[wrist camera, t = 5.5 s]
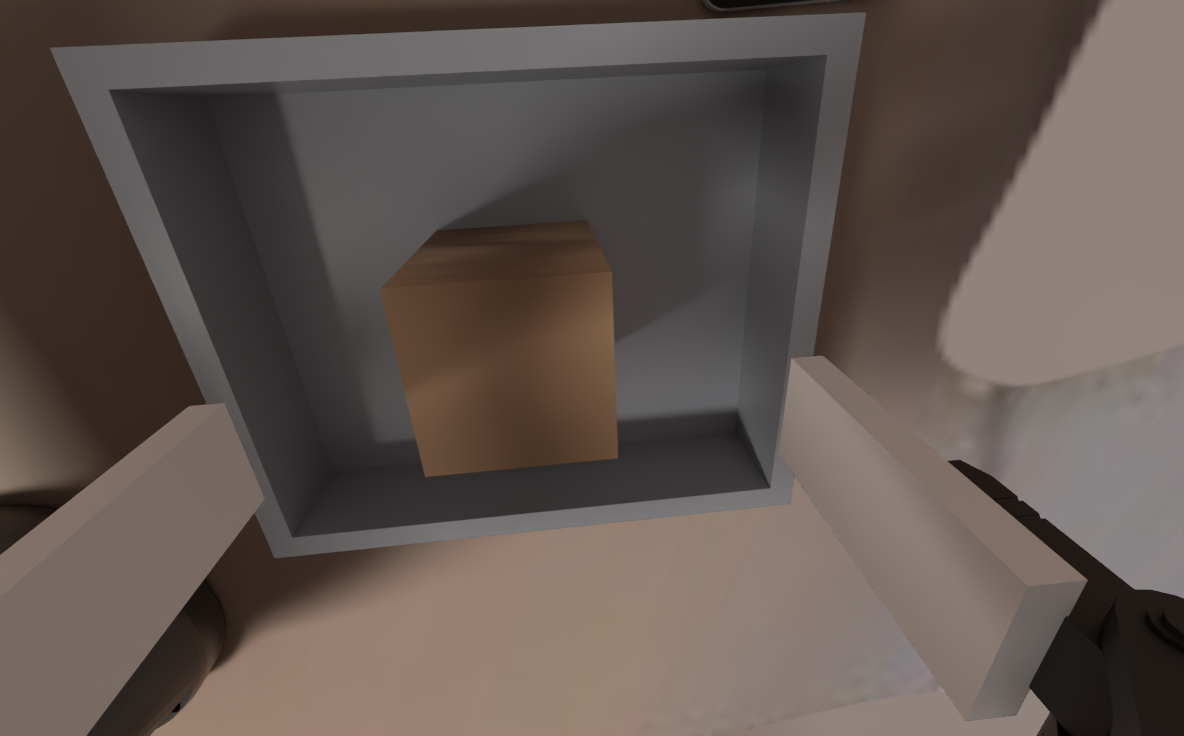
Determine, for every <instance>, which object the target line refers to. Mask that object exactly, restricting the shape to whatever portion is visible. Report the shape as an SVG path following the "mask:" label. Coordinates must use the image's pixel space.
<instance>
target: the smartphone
mask: <svg viewBox="0 0 1184 736" xmlns="http://www.w3.org/2000/svg"><path fill="white" fill-rule="evenodd" d="M834 1H844V0H702V2H703V4H704V5H705V6H706V7H707V8H708V9H709V10H711V11H713V12H717V13H723V12H733V11H743V10H753V9H763V8H773V7H783V6H794V5H804V4H814V3H824V2H834Z"/></svg>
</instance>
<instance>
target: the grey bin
mask: <svg viewBox="0 0 1184 736" xmlns="http://www.w3.org/2000/svg"><path fill="white" fill-rule="evenodd" d="M865 18H866V12H861V13H838V14H815V15H792V16H769V17H746V18H723V19H700V20H677V21H654V22H630V23H607V24H584V25H561V26H538V27H515V28H492V29H469V30H446V31H423V32H400V33H377V34H354V35H331V36H308V37H284V38H261V39H238V40H215V41H192V42H169V43H146V44H123V45H100V46H77V47H54V48H50V50H51V52H52V54H53V57H54V59H55V61H56V64H57V66H58V68H59V70H60V73H61V75H62V77H63V79H64V82H65V84H66V86H67V88H68V91H69V93H70V95H71V98H72V100H73V102H74V104H75V107H76V109H77V111H78V113H79V116H80V118H81V120H82V123H83V125H84V127H85V129H86V132H87V134H88V136H89V138H90V141H91V143H92V145H93V148H94V150H95V152H96V154H97V157H98V159H99V161H100V163H101V166H102V168H103V170H104V172H105V175H106V177H107V179H108V182H109V184H110V186H111V188H112V191H113V193H114V195H115V197H116V200H117V202H118V204H119V207H120V209H121V211H122V213H123V216H124V218H125V220H126V222H127V225H128V227H129V229H130V232H131V234H132V236H133V238H134V241H135V243H136V245H137V247H138V250H139V252H140V254H141V256H142V259H143V261H144V263H145V266H146V268H147V270H148V272H149V275H150V277H151V279H152V281H153V284H154V286H155V288H156V291H157V293H158V295H159V297H160V300H161V302H162V304H163V306H164V309H165V311H166V313H167V316H168V318H169V320H170V322H171V325H172V327H173V329H174V331H175V334H176V336H177V338H178V340H179V343H180V345H181V347H182V350H183V352H184V354H185V356H186V359H187V361H188V363H189V365H190V368H191V370H192V372H193V375H194V377H195V379H196V381H197V384H198V386H199V388H200V390H201V393H202V395H203V397H204V400H205V402H206V404H220V403H225V406H226V408H227V410H228V413H229V415H230V418H231V420H232V422H233V425H234V427H235V429H236V432H237V434H238V436H239V439H240V441H241V444H242V446H243V448H244V451H245V453H246V455H247V458H248V460H249V462H250V465H251V467H252V469H253V472H254V474H255V477H256V479H257V481H258V484H259V486H260V488H261V491H262V493H263V495H264V498H265V499H264V501H263V502H262V503H261V505H260V506H259V507H258V509H257V510H256V511H255V515H256V518H257V520H258V522H259V524H260V527H261V529H262V531H263V533H264V536H265V538H266V540H267V543H268V545H269V547H270V549H271V552H272V554H273V556H274V558H284V557H294V556H303V555H313V554H322V553H332V552H341V551H351V550H360V549H370V548H379V547H389V546H398V545H407V544H417V543H426V542H436V541H445V540H455V539H464V538H474V537H483V536H493V535H502V534H512V533H521V532H531V531H540V530H549V529H559V528H568V527H578V526H587V525H597V524H606V523H616V522H625V521H635V520H644V519H654V518H663V517H673V516H682V515H691V514H701V513H710V512H720V511H729V510H739V509H748V508H758V507H767V506H777V505H786V504H790V502H791V496H792V490H793V483H794V477H795V476H794V475H793V473H792V472H791V470H790V469H789V468H788V466H787V465H786V463H785V462H784V460H783V459H782V458H781V456H780V455H779V446H780V439H781V431H782V424H783V417H784V409H785V402H786V394H787V387H788V380H789V372H790V365H791V358H798V357H811V356H813V354H814V348H815V341H816V335H817V328H818V322H819V315H820V309H821V302H822V296H823V289H824V283H825V277H826V270H827V264H828V257H829V251H830V244H831V238H832V231H833V225H834V218H835V212H836V206H837V199H838V193H839V186H840V180H841V173H842V167H843V160H844V154H845V147H846V141H847V135H848V128H849V122H850V115H851V109H852V102H853V96H854V89H855V83H856V76H857V70H858V64H859V57H860V51H861V44H862V38H863V31H864V25H865ZM583 220H587V222H588V224H589V226H590V228H591V230H592V232H593V234H594V236H595V238H596V240H597V243H598V245H599V247H600V249H601V251H602V253H603V255H604V257H605V259H606V261H607V263H608V265H609V267H610V269H611V271H612V289H613V319H614V349H615V379H616V409H617V439H618V458H615V459H605V460H595V461H584V462H574V463H564V464H554V465H543V466H533V467H523V468H513V469H503V470H492V471H482V472H472V473H462V474H451V475H441V476H431V477H425V474H424V470H423V466H422V462H421V458H420V453H419V449H418V445H417V441H416V437H415V433H414V428H413V424H412V420H411V416H410V412H409V408H408V404H407V399H406V395H405V391H404V387H403V383H402V379H401V374H400V370H399V366H398V362H397V358H396V354H395V350H394V345H393V341H392V337H391V333H390V329H389V325H388V320H387V316H386V312H385V308H384V304H383V300H382V296H381V291H380V288H381V287H382V286H383V285H384V284H385V283H386V282H387V281H388V280H389V279H390V278H391V277H392V276H393V275H394V274H395V273H396V272H397V271H398V270H399V269H400V268H401V267H402V266H403V265H404V264H405V262H406V261H407V260H408V259H409V258H410V257H411V256H412V255H413V254H414V253H415V252H416V251H417V250H418V249H419V248H420V247H421V246H422V245H423V244H424V243H425V242H426V241H427V240H428V239H429V238H430V237H431V236H432V235H433V234H434V233H435V232H436V230H450V229H465V228H480V227H495V226H509V225H524V224H539V223H554V222H569V221H583Z"/></svg>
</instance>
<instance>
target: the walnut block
mask: <svg viewBox="0 0 1184 736" xmlns="http://www.w3.org/2000/svg"><path fill="white" fill-rule="evenodd" d="M380 291H381V296H382V300H383V304H384V308H385V312H386V316H387V320H388V325H389V329H390V333H391V337H392V341H393V345H394V350H395V354H396V358H397V362H398V366H399V370H400V374H401V379H402V383H403V387H404V391H405V395H406V399H407V404H408V408H409V412H410V416H411V420H412V424H413V428H414V433H415V437H416V441H417V445H418V449H419V453H420V458H421V462H422V466H423V470H424V474H425V477H431V476H441V475H451V474H462V473H472V472H482V471H492V470H503V469H513V468H523V467H533V466H543V465H554V464H564V463H574V462H584V461H595V460H605V459H615V458H618V439H617V409H616V379H615V349H614V319H613V289H612V271H611V269H610V267H609V265H608V263H607V261H606V259H605V257H604V255H603V253H602V251H601V249H600V247H599V245H598V243H597V240H596V238H595V236H594V234H593V232H592V230H591V228H590V226H589V224H588V222H587V220H583V221H569V222H554V223H539V224H524V225H509V226H495V227H480V228H465V229H450V230H436V232H435V233H434V234H433V235H432V236H431V237H430V238H429V239H428V240H427V241H426V242H425V243H424V244H423V245H422V246H421V247H420V248H419V249H418V250H417V251H416V252H415V253H414V254H413V255H412V256H411V257H410V258H409V259H408V260H407V261H406V262H405V264H404V265H403V266H402V267H401V268H400V269H399V270H398V271H397V272H396V273H395V274H394V275H393V276H392V277H391V278H390V279H389V280H388V281H387V282H386V283H385V284H384V285H383V286H382V287H381V288H380Z"/></svg>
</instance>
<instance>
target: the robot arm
mask: <svg viewBox="0 0 1184 736" xmlns="http://www.w3.org/2000/svg"><path fill="white" fill-rule="evenodd" d="M779 455H780V456H781V458H782V459H783V460H784V462H785V463H786V465H787V466H788V468H789V469H790V470H791V472H792V473H793V475H794V476H795V478H796V479H797V480H798V482H799V483H800V485H801V486H802V488H803V489H804V490H805V492H806V493H807V495H808V496H809V498H810V499H811V501H812V502H813V503H814V505H815V506H816V508H817V509H818V511H819V512H820V513H821V515H822V516H823V518H824V519H825V521H826V522H827V523H828V525H829V526H830V528H831V529H832V531H833V532H834V533H835V535H836V536H837V538H838V539H839V541H840V542H841V544H842V545H843V546H844V548H845V549H846V551H847V552H848V554H849V555H850V556H851V558H852V559H853V561H854V562H855V564H856V565H857V566H858V568H859V569H860V571H861V572H862V574H863V575H864V577H865V578H866V579H867V581H868V582H869V584H870V585H871V587H872V588H873V589H874V591H875V592H876V594H877V595H878V597H879V598H880V599H881V601H882V602H883V604H884V605H885V607H886V608H887V609H888V611H889V612H890V614H891V615H892V617H893V618H894V620H895V621H896V622H897V624H898V625H899V627H900V628H901V630H902V631H903V632H904V634H905V635H906V637H907V638H908V640H909V641H910V642H911V644H912V645H913V647H914V648H915V650H916V651H917V652H918V654H919V655H920V657H921V658H922V660H923V661H924V663H925V664H926V665H927V667H928V668H929V670H930V671H931V673H932V674H933V675H934V677H935V678H936V680H937V681H938V683H939V684H940V685H941V687H942V688H943V690H944V691H945V693H946V694H947V695H948V697H949V698H950V700H951V701H952V703H953V704H954V706H955V707H956V708H957V710H958V711H959V713H960V714H961V716H962V717H963V718H964V720H965V721H972V720H981V719H990V718H998V717H1007V716H1015V715H1017V713H1018V711H1019V709H1020V707H1021V705H1022V703H1023V701H1024V699H1025V697H1026V695H1027V694H1028V692H1029V690H1030V689H1031V690H1032V691H1033V692H1034V693H1035V695H1036V696H1037V697H1038V698H1039V699H1040V700H1041V702H1042V703H1043V704H1044V705H1045V706H1046V708H1047V709H1048V710H1049V711H1050V713H1049V715H1048V717H1047V719H1046V720H1045V722H1044V724H1043V726H1042V727H1041V729H1040V731H1039V732H1038V734H1037V736H1184V599H1183V598H1181V597H1178V596H1175V595H1171V594H1167V593H1162V592H1158V591H1154V590H1135V589H1133V588H1132V587H1131V586H1129V585H1128V584H1127V583H1126V582H1124V581H1123V580H1122V579H1121V578H1119V577H1118V576H1117V575H1115V574H1114V573H1113V572H1112V571H1110V570H1109V569H1108V568H1107V567H1105V566H1104V565H1103V564H1102V563H1100V562H1099V561H1098V560H1097V559H1095V558H1094V557H1093V556H1092V555H1090V554H1089V553H1088V552H1087V551H1085V550H1084V549H1083V548H1082V547H1080V546H1079V545H1078V544H1077V543H1075V542H1074V541H1073V540H1072V539H1070V538H1069V537H1068V536H1066V535H1065V534H1064V533H1063V532H1061V531H1060V530H1059V529H1058V528H1056V527H1055V526H1054V525H1053V524H1051V523H1050V522H1049V521H1048V520H1046V519H1045V518H1044V519H1041V518H1040V516H1039V513H1038V512H1036V511H1035V510H1034V509H1033V508H1031V507H1030V506H1029V505H1028V504H1026V503H1025V502H1024V501H1019V500H1018V497H1017V496H1016V495H1015V494H1014V493H1012V492H1011V491H1010V490H1009V489H1007V488H1006V487H1005V486H1004V485H1002V484H1001V483H1000V482H999V481H997V480H996V479H995V478H994V477H992V476H991V475H989V474H987V473H985V472H983V471H981V470H979V469H977V468H975V467H973V466H971V465H969V464H967V463H965V462H963V461H961V460H953V461H947V460H945V459H944V458H943V457H942V456H941V455H939V454H938V453H937V452H936V451H935V450H934V449H932V448H931V447H930V446H929V445H928V444H927V443H925V442H924V441H923V440H922V439H921V438H919V437H918V436H917V435H916V434H915V433H914V432H912V431H911V430H910V429H909V428H908V427H906V426H905V425H904V424H903V423H902V422H901V421H899V420H898V419H897V418H896V417H895V416H893V415H892V414H891V413H890V412H889V411H888V410H886V409H885V408H884V407H883V406H882V405H880V404H879V403H878V402H877V401H876V400H875V399H873V398H872V397H871V396H870V395H869V394H867V393H866V392H865V391H864V390H863V389H862V388H860V387H859V386H858V385H857V384H856V383H854V382H853V381H852V380H851V379H850V378H849V377H847V376H846V375H845V374H844V373H843V372H842V371H840V370H839V369H838V368H837V367H836V366H834V365H833V364H832V363H831V362H830V361H829V360H827V359H826V358H825V357H824V356H811V357H798V358H791V365H790V372H789V380H788V387H787V394H786V402H785V409H784V417H783V424H782V431H781V439H780V446H779ZM264 499H265V498H264V495H263V493H262V491H261V488H260V486H259V484H258V481H257V479H256V477H255V474H254V472H253V469H252V467H251V465H250V462H249V460H248V458H247V455H246V453H245V451H244V448H243V446H242V444H241V441H240V439H239V436H238V434H237V432H236V429H235V427H234V425H233V422H232V420H231V418H230V415H229V413H228V410H227V408H226V406H225V403H220V404H207V405H195V406H189V407H187V408H186V409H185V410H184V411H182V412H181V413H180V414H178V415H177V416H176V417H175V418H173V419H172V420H171V421H170V422H168V423H167V424H166V425H165V426H163V427H162V428H161V429H159V430H158V431H157V432H156V433H154V434H153V435H152V436H151V437H149V438H148V439H147V440H146V441H144V442H143V443H142V444H140V445H139V446H138V447H137V448H135V449H134V450H133V451H132V452H130V453H129V454H128V455H126V456H125V457H124V458H123V459H121V460H120V461H119V462H118V463H116V464H115V465H114V466H113V467H111V468H110V469H109V470H107V471H106V472H105V473H104V474H102V475H101V476H100V477H99V478H97V479H96V480H95V481H94V482H92V483H91V484H90V485H88V486H87V487H86V488H85V489H83V490H82V491H81V492H80V493H78V494H77V495H76V496H74V497H73V498H72V499H71V500H69V501H68V502H67V503H66V504H64V505H63V506H62V507H61V508H59V509H52V508H44V507H33V506H0V736H150V735H151V734H152V733H153V731H154V730H155V729H157V728H159V727H161V726H162V725H164V724H165V723H167V722H168V721H170V720H171V719H172V718H174V717H175V716H176V715H177V714H178V713H179V712H180V711H181V710H182V709H183V708H184V707H185V706H186V705H187V704H188V703H189V702H190V700H191V699H192V698H193V697H194V695H195V694H196V693H197V691H198V690H199V688H200V687H201V685H202V683H203V682H204V680H205V678H206V677H207V675H208V673H209V672H210V670H211V668H212V667H213V665H214V663H215V662H216V660H217V658H218V657H219V655H220V653H221V650H222V648H223V644H224V639H225V623H224V618H223V614H222V611H221V608H220V606H219V604H218V602H217V600H216V598H215V596H214V595H213V593H212V591H211V590H210V589H209V587H208V586H207V585H206V583H205V582H204V581H203V580H204V579H205V578H206V576H207V575H208V574H209V572H210V571H211V570H212V568H213V567H214V566H215V564H216V563H217V562H218V560H219V559H220V558H221V556H222V555H223V554H224V552H225V551H226V550H227V548H228V547H229V546H230V544H231V543H232V542H233V540H234V539H235V538H236V537H237V535H238V534H239V533H240V531H241V530H242V529H243V527H244V526H245V525H246V523H247V522H248V521H249V519H250V518H251V517H252V515H253V514H254V513H255V511H256V510H257V509H258V507H259V506H260V505H261V503H262V502H263V501H264Z"/></svg>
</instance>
